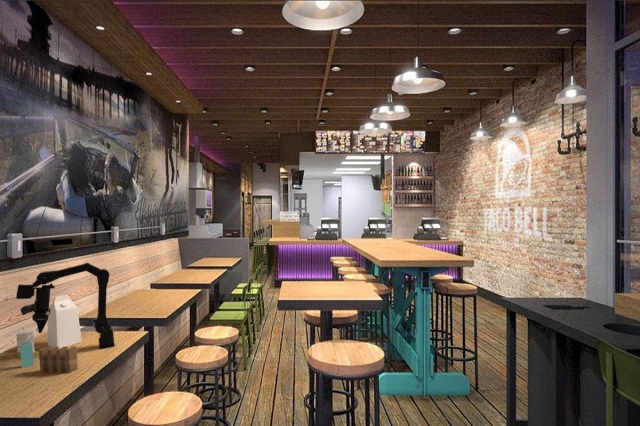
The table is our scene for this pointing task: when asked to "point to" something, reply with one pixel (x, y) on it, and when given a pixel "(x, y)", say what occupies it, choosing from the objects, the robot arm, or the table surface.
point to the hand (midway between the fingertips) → (40, 330)
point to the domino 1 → (26, 355)
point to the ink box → (25, 339)
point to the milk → (63, 323)
